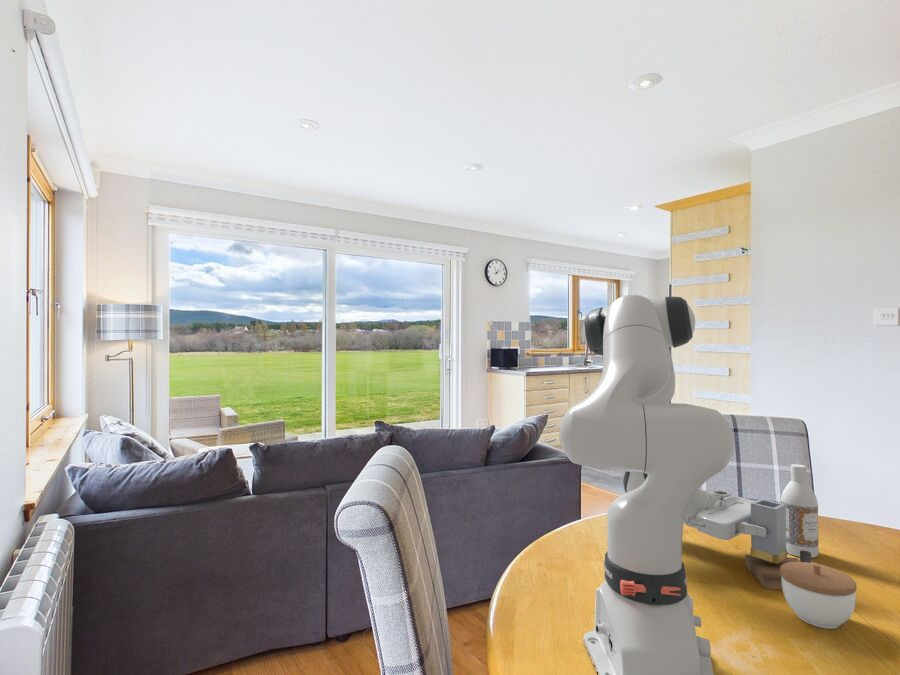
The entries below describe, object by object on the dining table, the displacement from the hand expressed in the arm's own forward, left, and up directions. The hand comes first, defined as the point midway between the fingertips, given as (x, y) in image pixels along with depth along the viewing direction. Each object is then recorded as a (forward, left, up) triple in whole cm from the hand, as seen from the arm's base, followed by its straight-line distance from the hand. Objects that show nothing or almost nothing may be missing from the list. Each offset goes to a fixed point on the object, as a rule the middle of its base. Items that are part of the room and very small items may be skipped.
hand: (773, 528), depth 103 cm
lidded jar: (-17, 0, -10) cm, 19 cm away
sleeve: (+1, +1, -6) cm, 6 cm away
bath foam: (+14, -11, -10) cm, 20 cm away
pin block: (-1, -1, -10) cm, 10 cm away
